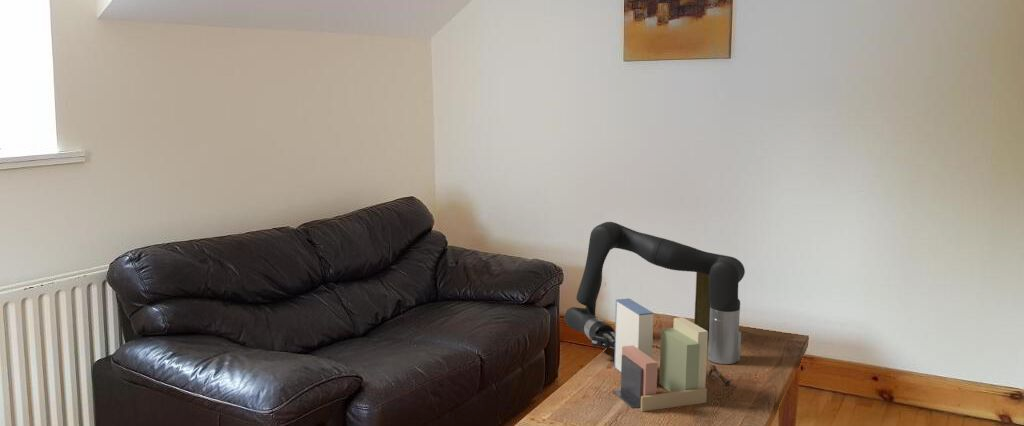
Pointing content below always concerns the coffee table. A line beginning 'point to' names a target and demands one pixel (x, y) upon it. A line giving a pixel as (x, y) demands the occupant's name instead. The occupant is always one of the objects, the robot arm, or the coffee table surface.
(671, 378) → the book rack
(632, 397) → the bookend
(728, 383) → the brown irregular piece
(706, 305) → the book
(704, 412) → the coffee table surface
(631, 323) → the blue book
